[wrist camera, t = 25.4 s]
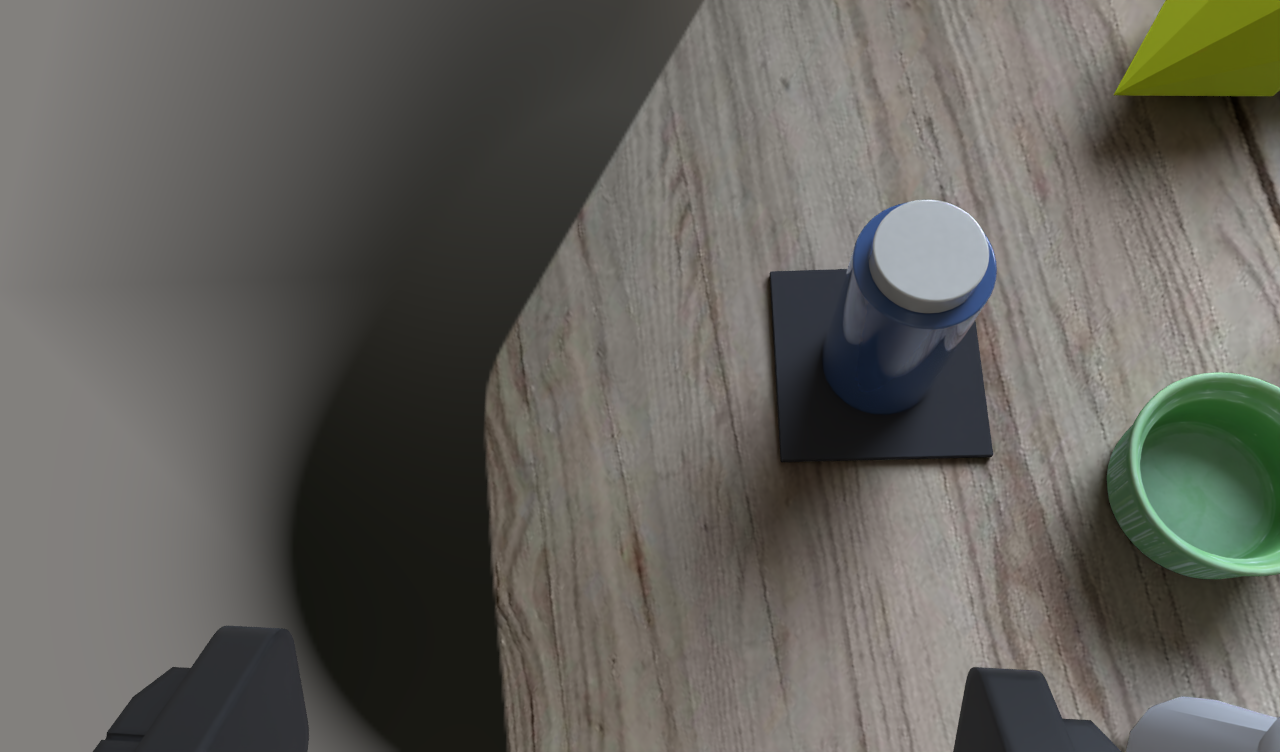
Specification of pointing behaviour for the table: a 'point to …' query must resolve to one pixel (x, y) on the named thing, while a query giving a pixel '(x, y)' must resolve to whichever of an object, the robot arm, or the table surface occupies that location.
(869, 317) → the blue cylinder
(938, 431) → the coaster
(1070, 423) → the table surface
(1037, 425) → the table surface
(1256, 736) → the salt shaker
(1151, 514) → the ramekin
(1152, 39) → the plumb bob
